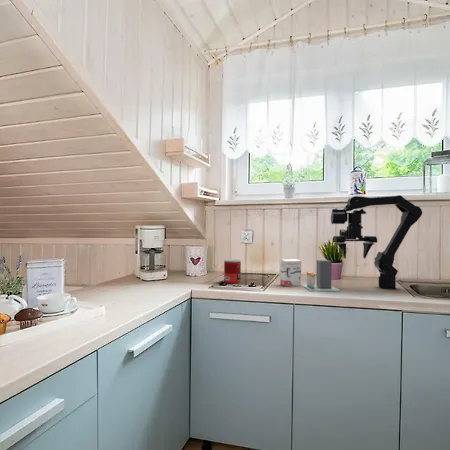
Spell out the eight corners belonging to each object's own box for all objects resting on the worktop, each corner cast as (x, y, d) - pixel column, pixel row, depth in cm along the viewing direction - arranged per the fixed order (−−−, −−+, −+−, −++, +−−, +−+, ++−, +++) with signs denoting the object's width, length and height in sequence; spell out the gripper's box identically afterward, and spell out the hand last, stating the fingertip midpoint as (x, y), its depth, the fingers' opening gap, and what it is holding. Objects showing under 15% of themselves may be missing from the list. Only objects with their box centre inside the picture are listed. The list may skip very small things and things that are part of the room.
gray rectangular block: (327, 286, 159) (327, 258, 159) (331, 288, 154) (331, 259, 154) (316, 286, 159) (316, 258, 159) (320, 288, 154) (320, 259, 154)
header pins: (310, 286, 160) (310, 271, 160) (315, 289, 152) (315, 274, 152) (306, 286, 160) (306, 271, 160) (311, 289, 152) (311, 274, 152)
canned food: (240, 284, 167) (240, 260, 167) (224, 283, 167) (224, 260, 167) (240, 281, 175) (240, 259, 175) (224, 281, 175) (224, 259, 175)
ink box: (284, 286, 161) (284, 260, 161) (280, 284, 165) (280, 259, 165) (301, 285, 163) (302, 260, 163) (296, 284, 168) (296, 259, 168)
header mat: (329, 285, 163) (329, 284, 163) (340, 290, 150) (340, 290, 150) (302, 285, 162) (302, 285, 162) (310, 291, 150) (310, 290, 150)
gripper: (366, 224, 168) (366, 256, 168) (328, 224, 167) (328, 256, 167) (378, 224, 157) (377, 259, 157) (337, 224, 156) (337, 259, 156)
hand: (354, 258), depth 160 cm, fingers open, 9 cm apart
